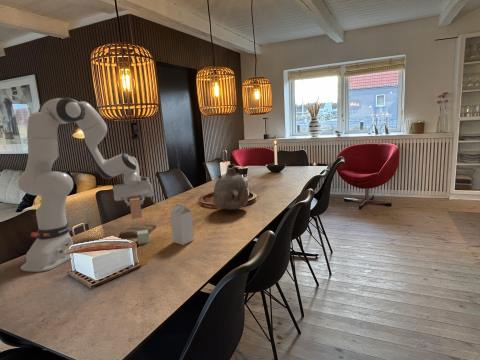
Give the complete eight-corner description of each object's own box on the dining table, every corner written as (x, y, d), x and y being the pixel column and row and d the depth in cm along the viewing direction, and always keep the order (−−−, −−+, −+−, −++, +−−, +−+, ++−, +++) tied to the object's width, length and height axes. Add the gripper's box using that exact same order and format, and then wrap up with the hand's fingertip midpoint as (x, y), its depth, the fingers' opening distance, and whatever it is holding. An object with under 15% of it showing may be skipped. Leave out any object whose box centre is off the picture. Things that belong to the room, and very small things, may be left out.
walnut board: (144, 237, 160) (144, 234, 160) (119, 236, 162) (119, 234, 162) (156, 227, 173) (155, 225, 173) (132, 227, 176) (132, 224, 175)
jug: (206, 210, 200) (203, 164, 194) (233, 203, 213) (230, 160, 207) (230, 219, 182) (228, 168, 175) (257, 211, 195) (256, 163, 189)
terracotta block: (141, 217, 165) (139, 199, 163) (131, 219, 163) (129, 200, 161) (141, 214, 169) (139, 196, 167) (131, 216, 168) (129, 198, 166)
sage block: (149, 242, 153) (148, 232, 152) (138, 244, 152) (137, 234, 151) (148, 238, 158) (147, 229, 157) (138, 240, 156) (137, 231, 155)
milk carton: (184, 237, 157) (181, 201, 154) (193, 240, 153) (191, 203, 149) (173, 242, 152) (169, 204, 148) (182, 245, 148) (179, 206, 144)
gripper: (111, 181, 165) (113, 204, 158) (151, 177, 172) (155, 199, 165) (112, 188, 170) (114, 210, 163) (151, 184, 177) (155, 205, 170)
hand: (135, 204), depth 164 cm, fingers closed on terracotta block, 5 cm apart
